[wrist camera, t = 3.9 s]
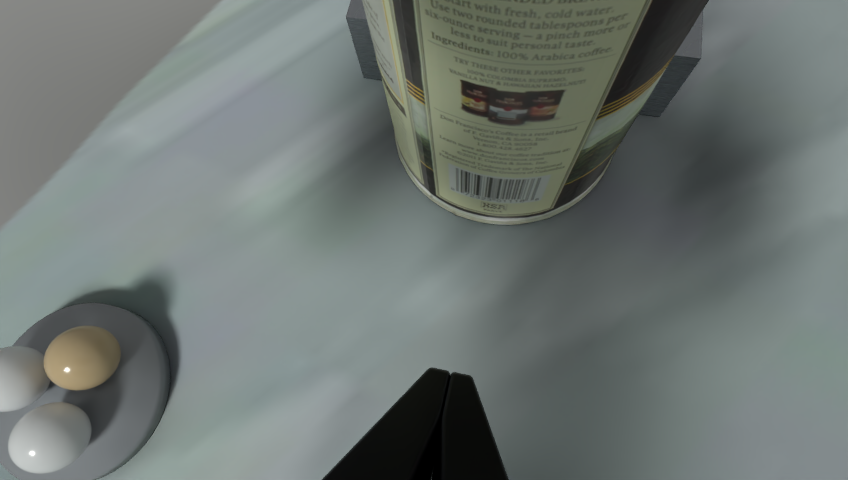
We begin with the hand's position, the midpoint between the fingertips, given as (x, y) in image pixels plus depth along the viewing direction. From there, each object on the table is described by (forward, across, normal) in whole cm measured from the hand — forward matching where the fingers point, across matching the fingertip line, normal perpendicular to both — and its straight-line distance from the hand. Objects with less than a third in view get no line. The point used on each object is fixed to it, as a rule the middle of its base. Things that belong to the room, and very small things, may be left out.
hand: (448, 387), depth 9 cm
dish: (+5, +15, +9) cm, 18 cm away
